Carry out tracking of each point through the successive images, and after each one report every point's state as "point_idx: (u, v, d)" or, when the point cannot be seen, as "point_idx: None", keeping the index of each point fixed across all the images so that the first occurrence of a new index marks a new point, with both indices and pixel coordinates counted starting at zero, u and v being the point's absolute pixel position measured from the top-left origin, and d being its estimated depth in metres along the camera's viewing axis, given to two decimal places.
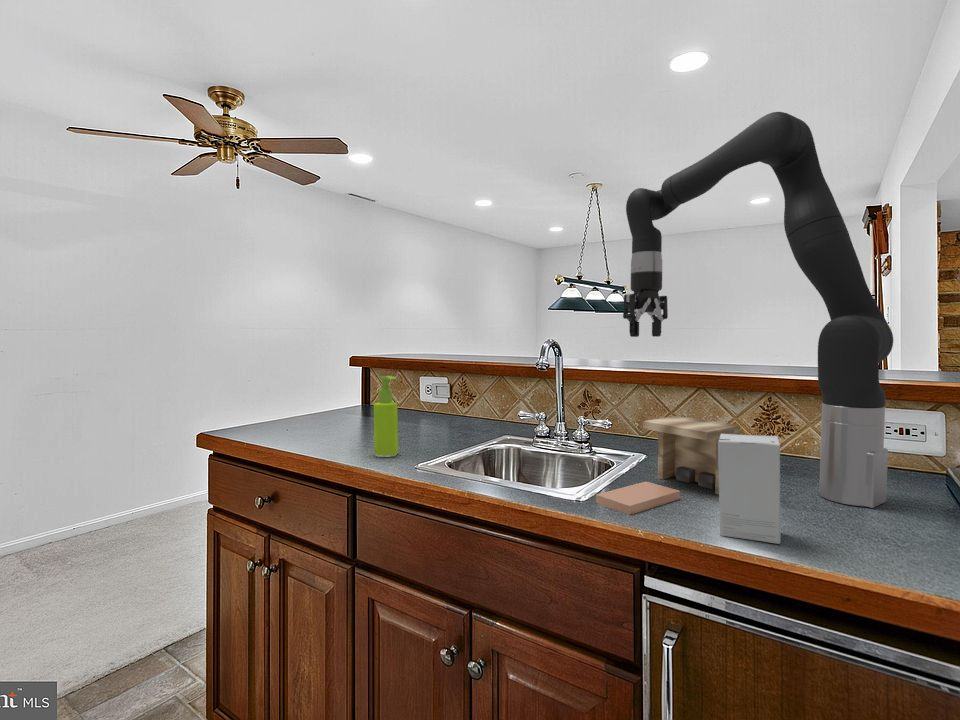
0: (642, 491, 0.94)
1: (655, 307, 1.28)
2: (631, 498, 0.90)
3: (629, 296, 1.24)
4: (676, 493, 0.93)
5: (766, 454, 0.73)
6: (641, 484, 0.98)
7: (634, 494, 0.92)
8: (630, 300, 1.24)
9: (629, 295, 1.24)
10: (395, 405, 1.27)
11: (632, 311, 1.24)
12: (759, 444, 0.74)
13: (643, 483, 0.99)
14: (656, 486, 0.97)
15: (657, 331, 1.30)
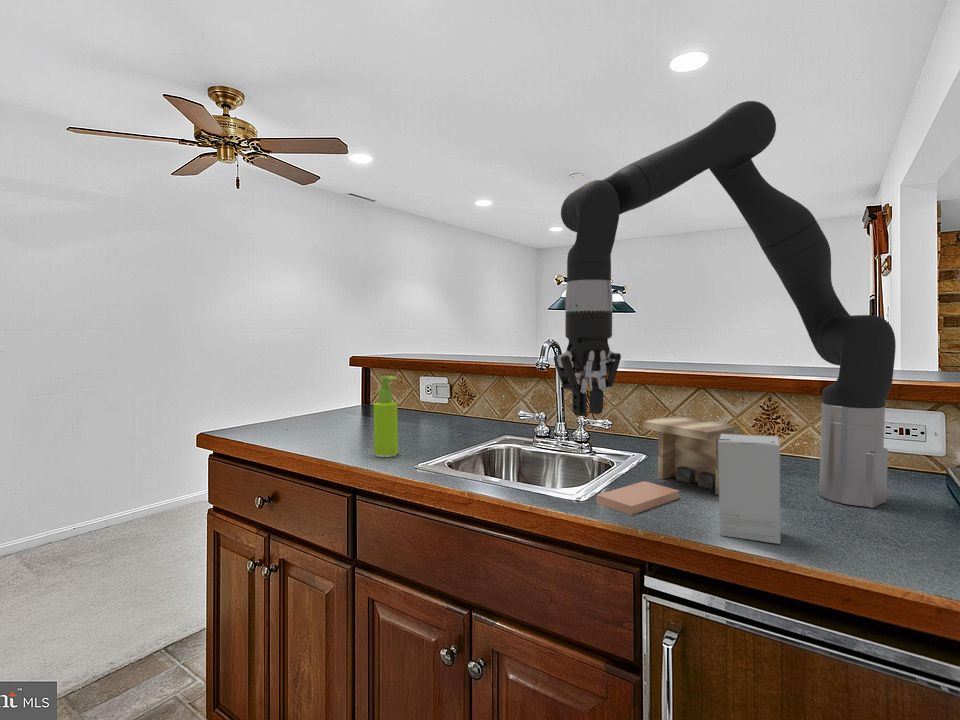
0: (641, 491, 0.94)
1: (599, 364, 0.84)
2: (632, 498, 0.90)
3: (561, 360, 0.80)
4: (675, 492, 0.94)
5: (766, 454, 0.73)
6: (640, 484, 0.98)
7: (634, 494, 0.92)
8: (564, 366, 0.80)
9: (560, 359, 0.80)
10: (395, 405, 1.27)
11: (573, 380, 0.81)
12: (759, 444, 0.74)
13: (642, 483, 0.99)
14: (655, 486, 0.97)
15: (596, 406, 0.85)
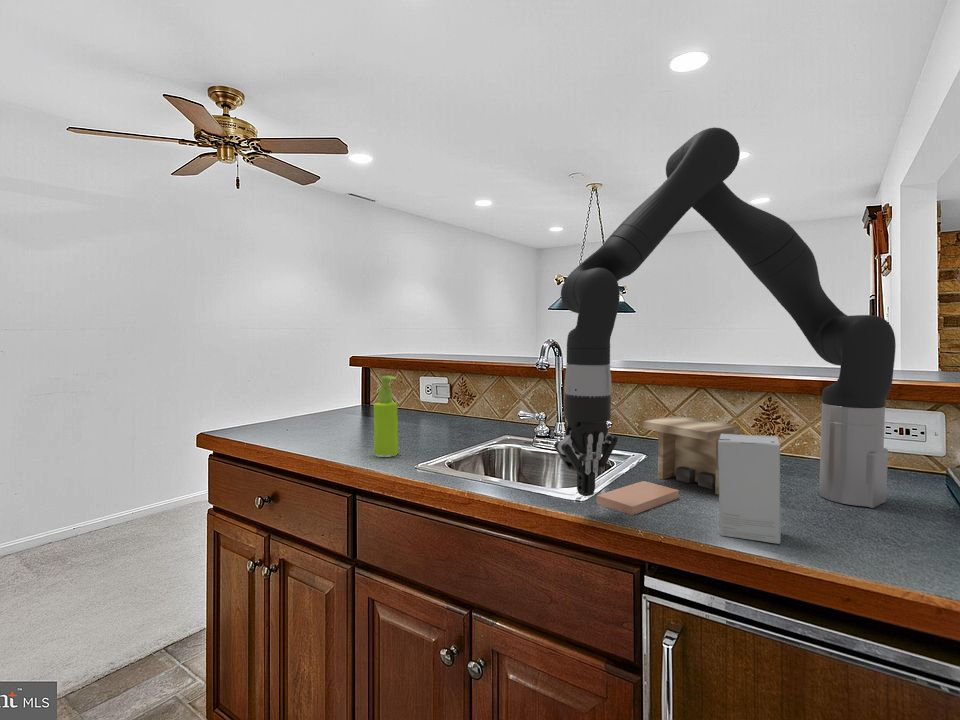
0: (641, 490, 0.94)
1: (595, 445, 0.84)
2: (632, 498, 0.90)
3: (562, 450, 0.81)
4: (675, 492, 0.94)
5: (766, 454, 0.73)
6: (639, 484, 0.98)
7: (634, 494, 0.92)
8: (566, 454, 0.82)
9: (561, 448, 0.81)
10: (395, 405, 1.27)
11: (577, 464, 0.82)
12: (759, 444, 0.74)
13: (641, 483, 0.99)
14: (654, 485, 0.97)
15: None
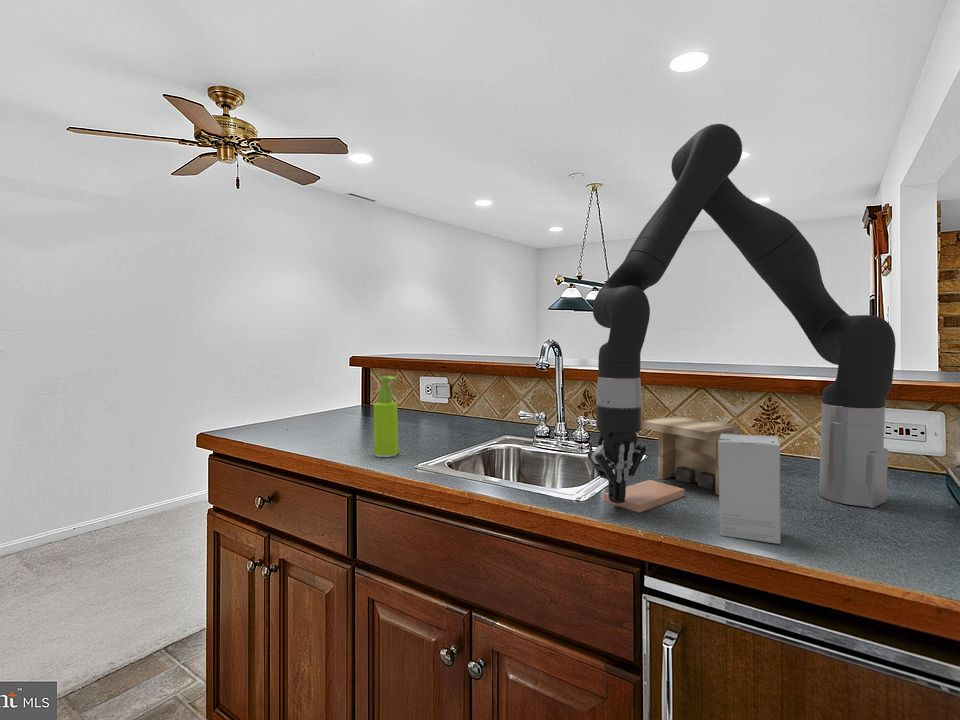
0: (648, 489, 0.95)
1: (626, 455, 0.88)
2: (639, 497, 0.91)
3: (595, 459, 0.85)
4: (681, 491, 0.95)
5: (766, 454, 0.73)
6: (645, 482, 0.99)
7: (641, 493, 0.93)
8: (599, 464, 0.85)
9: (595, 458, 0.85)
10: (395, 405, 1.27)
11: (609, 473, 0.86)
12: (759, 444, 0.74)
13: (647, 481, 1.00)
14: (660, 484, 0.98)
15: None
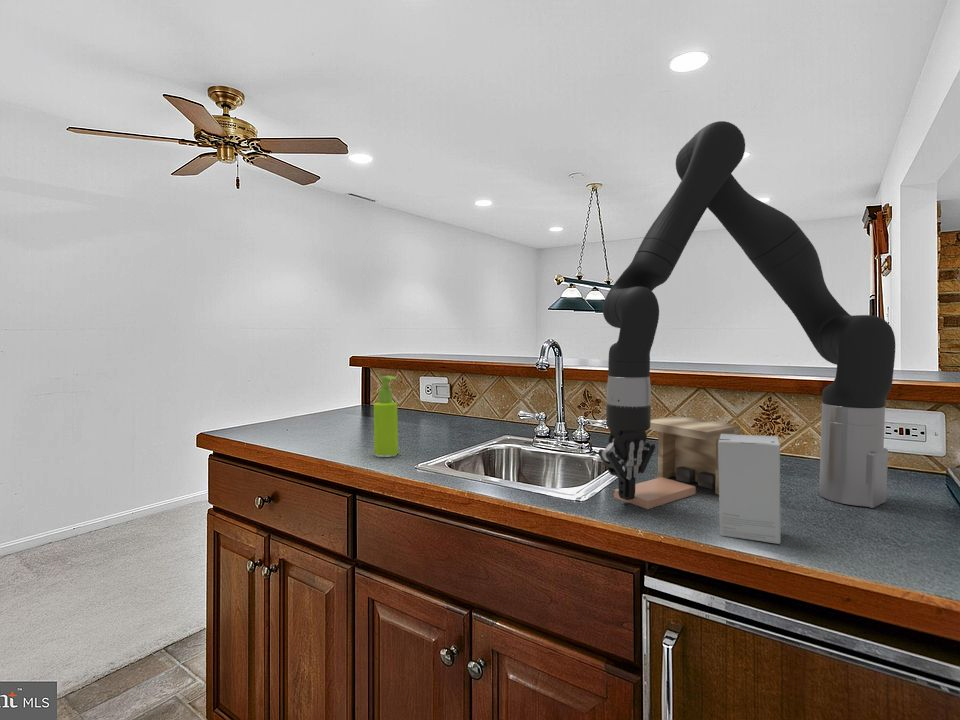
0: (658, 486, 0.97)
1: (636, 452, 0.90)
2: (649, 493, 0.93)
3: (606, 457, 0.87)
4: (692, 488, 0.96)
5: (766, 454, 0.73)
6: (657, 480, 1.01)
7: (651, 490, 0.95)
8: (610, 461, 0.87)
9: (605, 455, 0.87)
10: (395, 405, 1.27)
11: (619, 470, 0.88)
12: (759, 444, 0.74)
13: (659, 479, 1.01)
14: (672, 482, 0.99)
15: None
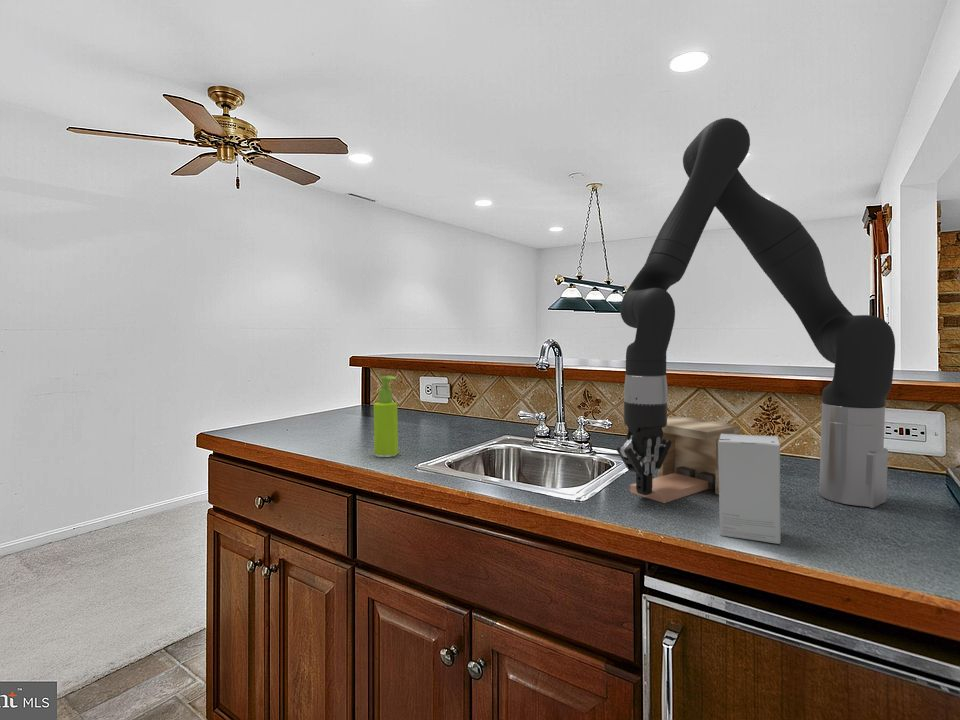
0: (673, 481, 1.00)
1: (653, 449, 0.93)
2: (664, 488, 0.96)
3: (624, 453, 0.90)
4: (705, 483, 0.99)
5: (766, 454, 0.73)
6: (670, 475, 1.04)
7: (666, 484, 0.98)
8: (628, 457, 0.90)
9: (624, 452, 0.90)
10: (395, 405, 1.27)
11: (637, 466, 0.91)
12: (759, 444, 0.74)
13: (672, 474, 1.05)
14: (685, 477, 1.03)
15: None
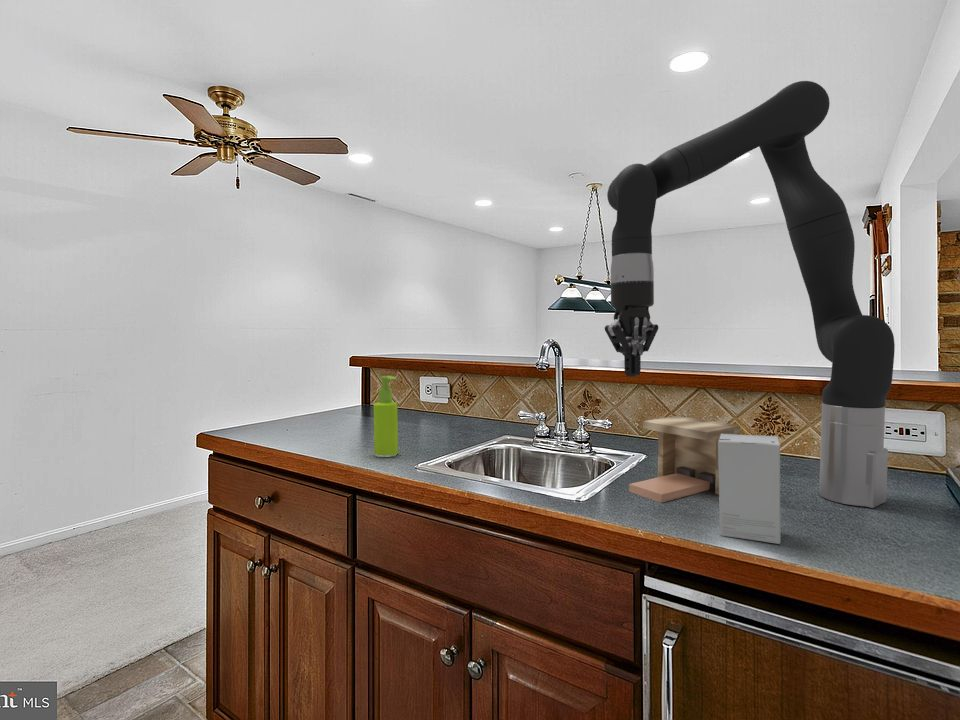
0: (673, 481, 1.00)
1: (640, 329, 0.93)
2: (663, 487, 0.96)
3: (612, 330, 0.90)
4: (706, 484, 0.99)
5: (766, 454, 0.73)
6: (672, 475, 1.04)
7: (665, 484, 0.98)
8: (616, 335, 0.90)
9: (611, 329, 0.90)
10: (395, 405, 1.27)
11: (625, 345, 0.91)
12: (759, 444, 0.74)
13: (674, 474, 1.04)
14: (687, 477, 1.02)
15: None
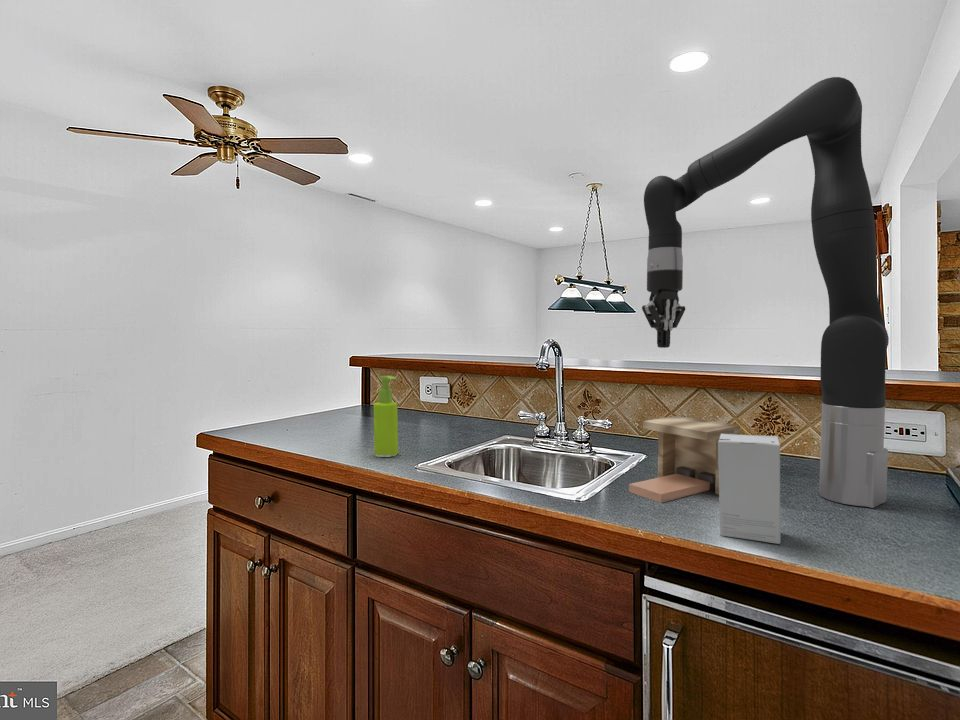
0: (673, 481, 1.00)
1: (671, 309, 1.14)
2: (663, 487, 0.96)
3: (648, 309, 1.11)
4: (706, 484, 0.99)
5: (766, 454, 0.73)
6: (672, 476, 1.04)
7: (665, 484, 0.98)
8: (651, 313, 1.11)
9: (648, 308, 1.11)
10: (395, 405, 1.27)
11: (659, 321, 1.12)
12: (759, 444, 0.74)
13: (674, 475, 1.04)
14: (687, 478, 1.02)
15: None
